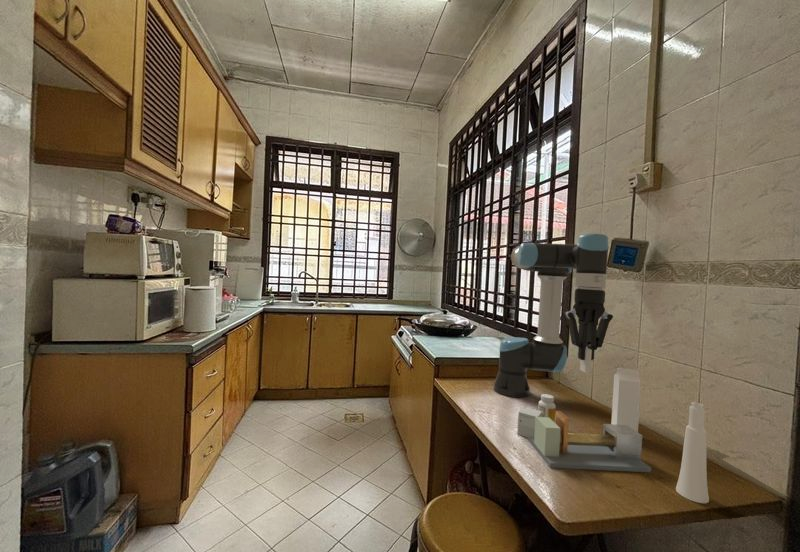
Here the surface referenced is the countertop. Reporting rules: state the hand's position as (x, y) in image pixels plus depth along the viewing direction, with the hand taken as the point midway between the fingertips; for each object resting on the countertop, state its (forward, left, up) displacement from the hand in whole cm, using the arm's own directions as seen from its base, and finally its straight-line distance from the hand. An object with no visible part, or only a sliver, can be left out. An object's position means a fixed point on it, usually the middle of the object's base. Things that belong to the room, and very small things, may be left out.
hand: (585, 371), depth 96 cm
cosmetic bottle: (+16, +18, -24) cm, 34 cm away
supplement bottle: (-20, -1, -24) cm, 31 cm away
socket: (0, -10, -23) cm, 25 cm away
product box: (-12, -10, -24) cm, 29 cm away
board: (0, +1, -24) cm, 24 cm away
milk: (-14, +22, -24) cm, 36 cm away
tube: (0, +1, -23) cm, 23 cm away
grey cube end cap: (0, +11, -23) cm, 26 cm away
